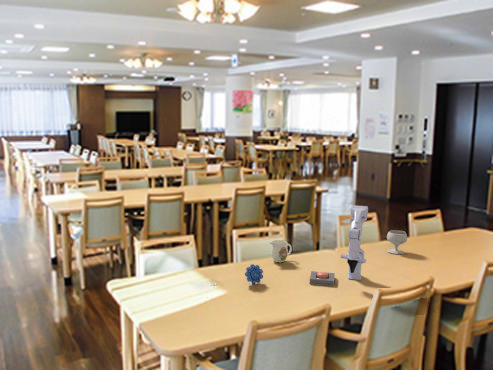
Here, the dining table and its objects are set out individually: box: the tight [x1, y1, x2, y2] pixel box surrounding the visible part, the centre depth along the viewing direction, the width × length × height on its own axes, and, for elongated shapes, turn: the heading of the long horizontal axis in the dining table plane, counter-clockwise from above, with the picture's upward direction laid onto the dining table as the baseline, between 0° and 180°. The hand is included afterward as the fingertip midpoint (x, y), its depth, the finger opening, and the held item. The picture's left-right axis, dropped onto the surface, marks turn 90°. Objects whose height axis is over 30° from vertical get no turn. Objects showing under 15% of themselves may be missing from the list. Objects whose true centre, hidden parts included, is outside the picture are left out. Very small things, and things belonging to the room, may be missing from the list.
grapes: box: [244, 263, 264, 285], centre depth 273 cm, size 12×7×12 cm, turn 114°
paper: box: [205, 282, 217, 298], centre depth 267 cm, size 25×17×1 cm
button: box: [316, 271, 329, 279], centre depth 281 cm, size 7×7×2 cm
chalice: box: [386, 229, 408, 255], centre depth 343 cm, size 14×14×15 cm
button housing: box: [309, 270, 335, 287], centre depth 282 cm, size 14×14×3 cm
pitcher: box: [269, 239, 293, 263], centre depth 316 cm, size 11×18×14 cm, turn 122°
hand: (352, 272), depth 273 cm, fingers closed
